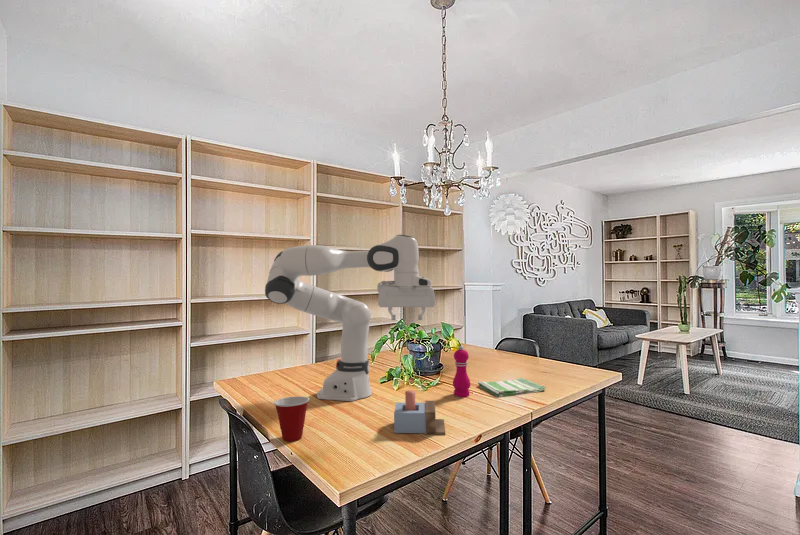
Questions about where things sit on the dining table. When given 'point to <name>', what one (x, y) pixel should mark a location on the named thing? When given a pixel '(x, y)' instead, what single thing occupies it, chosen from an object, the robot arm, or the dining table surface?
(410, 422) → the blue-grey slotted block
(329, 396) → the robot arm
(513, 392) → the dish towel
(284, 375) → the dining table surface
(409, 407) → the dowel
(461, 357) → the pepper mill
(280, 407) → the plastic cup
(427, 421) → the brown l-shaped block
